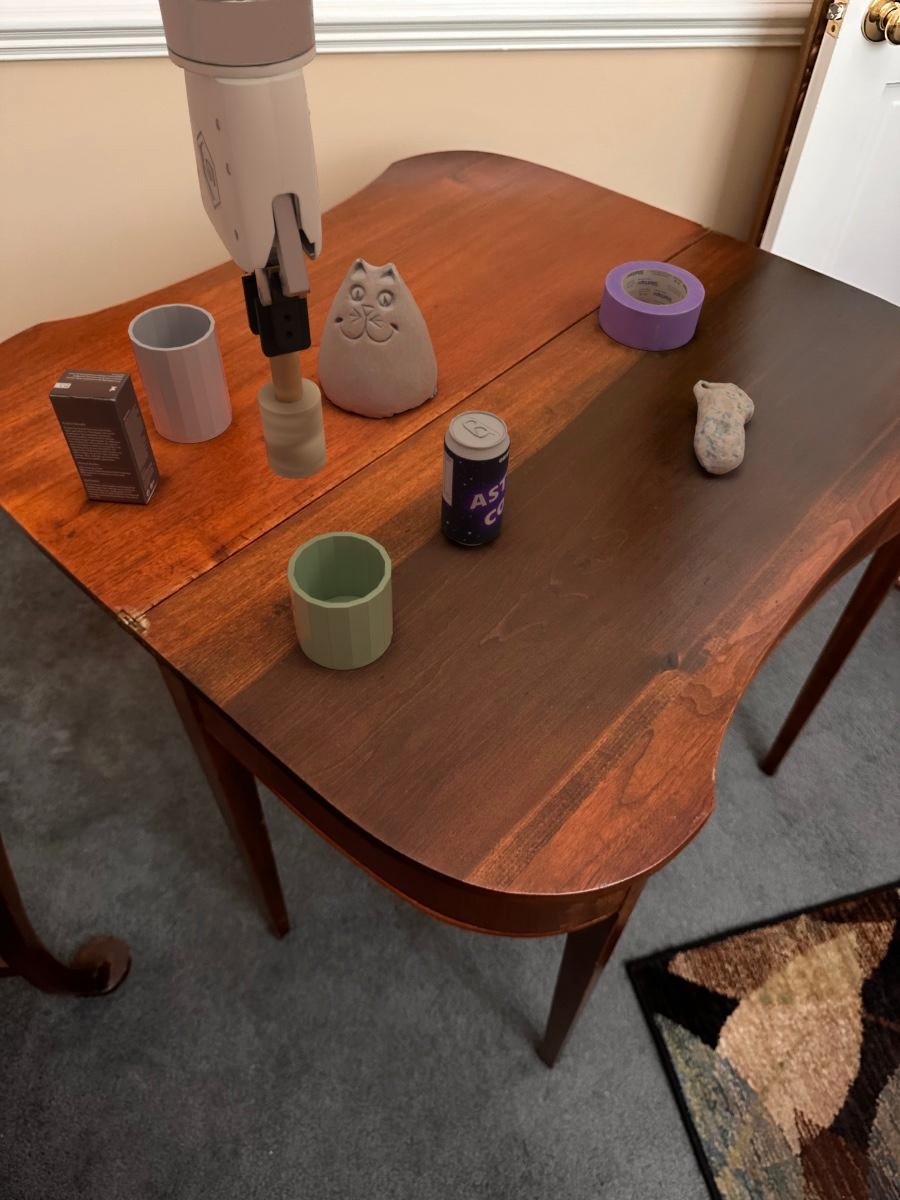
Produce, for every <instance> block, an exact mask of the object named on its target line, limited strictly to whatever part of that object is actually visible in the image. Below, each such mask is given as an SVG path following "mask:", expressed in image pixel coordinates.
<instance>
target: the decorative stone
mask: <svg viewBox="0 0 900 1200" xmlns="http://www.w3.org/2000/svg"><path fill="white" fill-rule="evenodd" d="M692 392H693V394H694V397H695V398H696V402H697V414H696V415H697V417H696V424H695V432H694V439H693V448H694V452H695V453H694V454H695V456H696V458H697V460H698V463H699V464H700V465H701V467H702V468H704V469H705V470H706V471H707V472H708V473H711V474H713V475H717V476H718V475H723V474H727V473H729V472H731V471H732V470H735V469H736V468H738V467H739V466H740V465H741V463H742V462H743V460H744V456H745V450H746V449H745V448H746V434H745V433H746V431H745V424H747V423H748V422H749V421H750V420H751V419H752V417H753V415H754V412H755V404H754V402H753V399H751V398H750V397H749V395H748V394H747V393H746V392H745V391H744V389H742V388H739V387H738V385H736V384H734V383H732V382H725V383H724V382H723V383H722V382H708V381H706V380H699V381H698V382H696V383H695V385H694V386H693V388H692Z"/></svg>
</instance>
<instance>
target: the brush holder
mask: <svg viewBox="0 0 900 1200" xmlns="http://www.w3.org/2000/svg"><path fill="white" fill-rule="evenodd" d="M392 573H393V571H392V559H391V558H390V556H389V554H388V553H387V550H386V549H385V547H384V546H383V545H382V544H380V543H379V542H377V541H376V540H375V539H373V538H372V537H370V536H367V535H364V534H361V533H357V532H354V531H331V532H327V533H323V534H319V535H316V536H314V537H312V538H310V539H308V540H307V541H305V542H304V543H302V544H301V545H299V546H298V547H297V548H296V550H295V551H294V553H292V555H291V557H290V558H289V560H288V565H287V573H286V577H287V578H286V579H287V584H288V590H289V597H290V603H291V609H292V614H293V615H292V616H293V620H294V621H293V622H294V626H295V633H296V637H297V641H298V643H299V647H300V648H301V650H302V652H303V654H305V656H306V657H307V658H308V659H309V660H311V661H312V662H313V663H316V664H317V665H319V666H322V667H324V668H327V669H331V670H339V671H346V670H347V671H348V670H356V669H360V668H363V667H365V666H368V665H370V664H371V663H373V662H375V661H377V660H378V659H380V658H381V656H383V654H384V653H385V652H386V651H387V650H388V648H389V646H390V644H391V642H392V639H393V636H394V635H393V633H394V612H393V609H394V608H393V576H392V575H393V574H392Z"/></svg>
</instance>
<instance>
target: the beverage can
mask: <svg viewBox="0 0 900 1200" xmlns="http://www.w3.org/2000/svg"><path fill="white" fill-rule="evenodd" d="M508 433H509V432H508V427H507V424H506V423H505V422H504V420H503V419H502V418H501V417H500V416H499V415H496V414H494V413H491V412H489V411H485V410H467V411H464V412H461V413H459V414H457V415H456V416H454V417H453V418H452V419H451V420H450V423H449V425H448V428H447V430H446V431H445V434H444V437H443V450H442V451H443V452H442V453H443V454H442V476H441V477H442V478H441V480H442V481H441V505H440V506H441V507H440V526H441V529H442V531H443V532H444V534H445V535H446V536H447V537H448V538H449V539H451V540H453V541H455V542H457V543H458V544H461V545H465V546H479V545H482V544H484V543H488V542H490V541H492V540H493V539H494V538H496V537H497V536H498V535H499V533H500V531H501V529H502V522H503V515H504V514H503V513H504V505H505V496H506V488H507V487H506V486H507V478H508V469H509V459H510V450H511V437H510V435H509V434H508Z"/></svg>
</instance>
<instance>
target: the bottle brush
mask: <svg viewBox="0 0 900 1200" xmlns="http://www.w3.org/2000/svg"><path fill="white" fill-rule="evenodd" d="M279 271H280V265H278V266H273V267H268V274H269V278H270V275H271V273H274V272H279ZM268 358H269V365H270V372H271V373H270V374H271V380H269V381H267V382H266V383H264V384H263V385H262V386H261V387H260V389H259V390H258V393H257V402H258V409H259V415H260V421H261V427H262V434H263V440H264V444H265V451H266V452H265V453H266V457H267V458H266V459H267V464H268V467H269V469H270V470H271V471H272V472H273V473H274V474H275V475H277V476H278V477H281V478H285V479H289V480H301V479H302V480H304V479H306V478H307V479H308V478H310V477H313V476H315V475H317V474H318V473H320V472H321V471H322V470H323V469H324V468H325V466H326V464H327V460H328V459H327V458H328V457H327V448H326V447H327V445H326V436H325V435H326V434H325V426H324V425H325V424H324V415H323V414H324V413H323V405H322V404H323V403H322V394H321V389H320V388H319V386H318V385H317V384H316V383H315V382H314V381H312V380H310V379H308V378H305V377H302V368H301V360H300V351H297V352H292V353H288V354H284V355H279V356H275V357H268Z"/></svg>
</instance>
